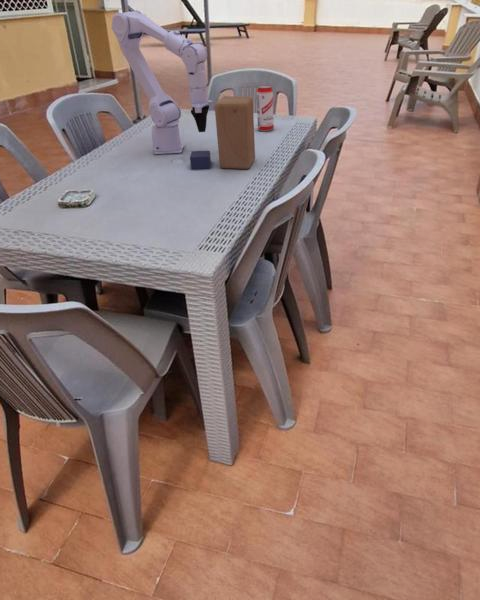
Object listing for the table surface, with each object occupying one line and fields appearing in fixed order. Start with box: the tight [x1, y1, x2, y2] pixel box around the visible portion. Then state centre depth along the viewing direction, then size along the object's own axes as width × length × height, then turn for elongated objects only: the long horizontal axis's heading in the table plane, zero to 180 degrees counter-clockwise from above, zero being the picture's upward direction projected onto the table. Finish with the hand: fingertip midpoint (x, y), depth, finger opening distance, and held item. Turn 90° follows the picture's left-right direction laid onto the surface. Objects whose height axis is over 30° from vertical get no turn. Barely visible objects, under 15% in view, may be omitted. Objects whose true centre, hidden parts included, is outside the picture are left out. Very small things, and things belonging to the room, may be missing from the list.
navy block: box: [189, 150, 212, 170], centre depth 150 cm, size 6×6×4 cm
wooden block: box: [214, 95, 256, 170], centre depth 146 cm, size 10×10×20 cm
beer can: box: [256, 84, 275, 133], centre depth 179 cm, size 6×6×16 cm
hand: (202, 130), depth 155 cm, fingers open, 3 cm apart
